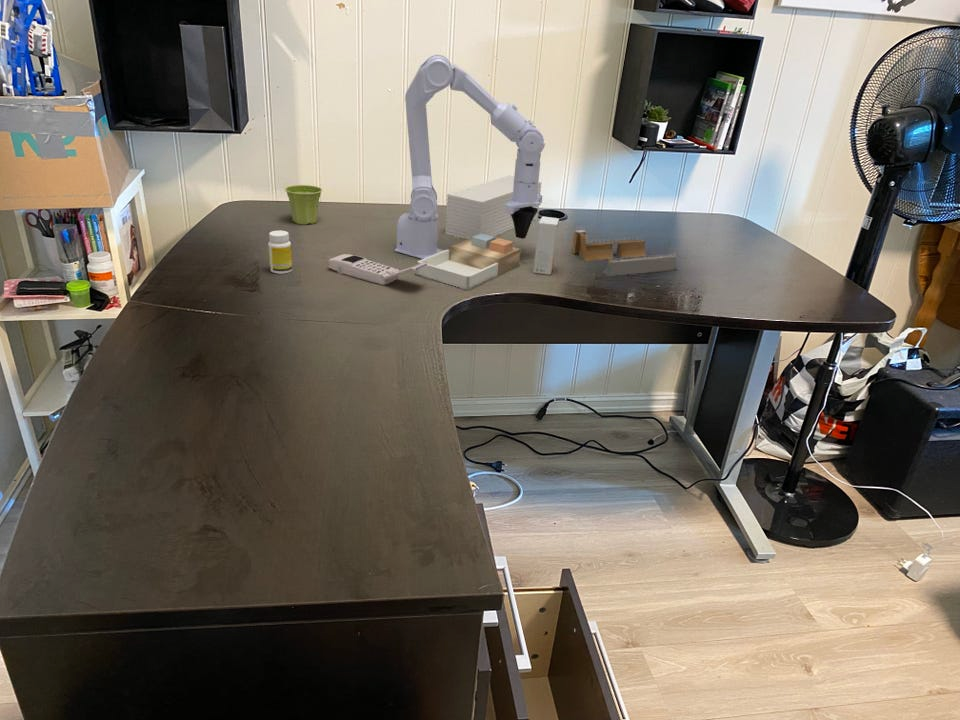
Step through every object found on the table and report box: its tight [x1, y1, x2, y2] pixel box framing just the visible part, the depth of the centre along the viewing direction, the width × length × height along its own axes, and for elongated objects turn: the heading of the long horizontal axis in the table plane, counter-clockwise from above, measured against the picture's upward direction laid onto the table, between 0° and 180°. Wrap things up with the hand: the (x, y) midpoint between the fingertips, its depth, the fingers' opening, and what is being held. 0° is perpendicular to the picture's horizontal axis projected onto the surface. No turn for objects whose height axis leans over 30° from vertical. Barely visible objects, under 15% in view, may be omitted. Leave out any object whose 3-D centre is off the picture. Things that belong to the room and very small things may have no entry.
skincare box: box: [532, 215, 560, 276], centre depth 163 cm, size 6×4×12 cm
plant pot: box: [284, 184, 323, 225], centre depth 185 cm, size 9×9×9 cm
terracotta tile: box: [489, 237, 514, 254], centre depth 164 cm, size 4×4×2 cm
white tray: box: [415, 249, 498, 291], centre depth 158 cm, size 14×12×3 cm
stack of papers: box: [445, 175, 542, 240], centre depth 194 cm, size 32×11×11 cm, turn 148°
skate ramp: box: [571, 226, 677, 277], centre depth 177 cm, size 29×35×8 cm
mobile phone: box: [328, 253, 428, 286], centre depth 153 cm, size 6×6×25 cm
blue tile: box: [471, 234, 496, 249], centre depth 166 cm, size 4×4×2 cm
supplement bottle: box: [267, 230, 293, 275], centre depth 152 cm, size 5×5×8 cm
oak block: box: [449, 238, 522, 277], centre depth 166 cm, size 13×10×4 cm
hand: (520, 237), depth 170 cm, fingers closed
